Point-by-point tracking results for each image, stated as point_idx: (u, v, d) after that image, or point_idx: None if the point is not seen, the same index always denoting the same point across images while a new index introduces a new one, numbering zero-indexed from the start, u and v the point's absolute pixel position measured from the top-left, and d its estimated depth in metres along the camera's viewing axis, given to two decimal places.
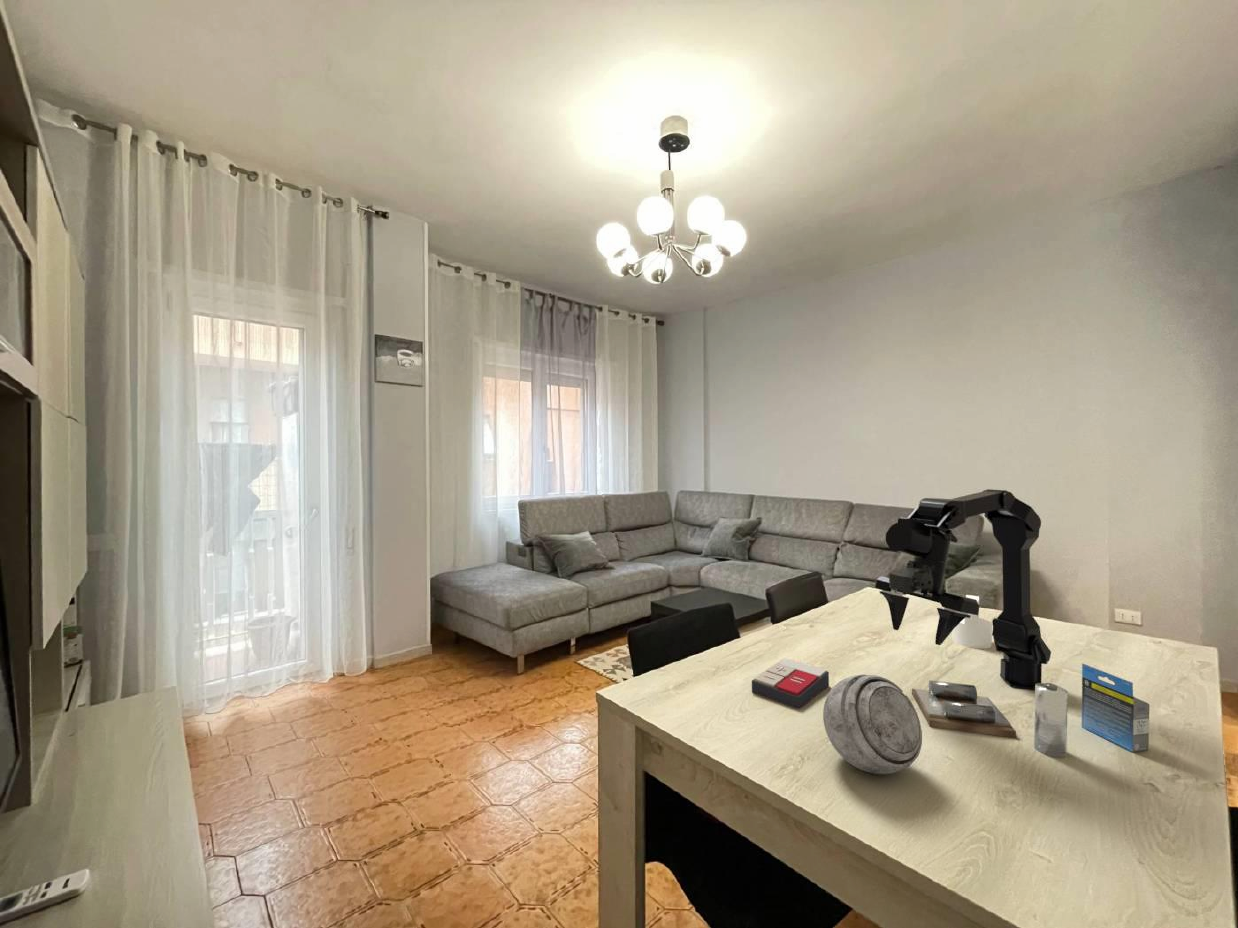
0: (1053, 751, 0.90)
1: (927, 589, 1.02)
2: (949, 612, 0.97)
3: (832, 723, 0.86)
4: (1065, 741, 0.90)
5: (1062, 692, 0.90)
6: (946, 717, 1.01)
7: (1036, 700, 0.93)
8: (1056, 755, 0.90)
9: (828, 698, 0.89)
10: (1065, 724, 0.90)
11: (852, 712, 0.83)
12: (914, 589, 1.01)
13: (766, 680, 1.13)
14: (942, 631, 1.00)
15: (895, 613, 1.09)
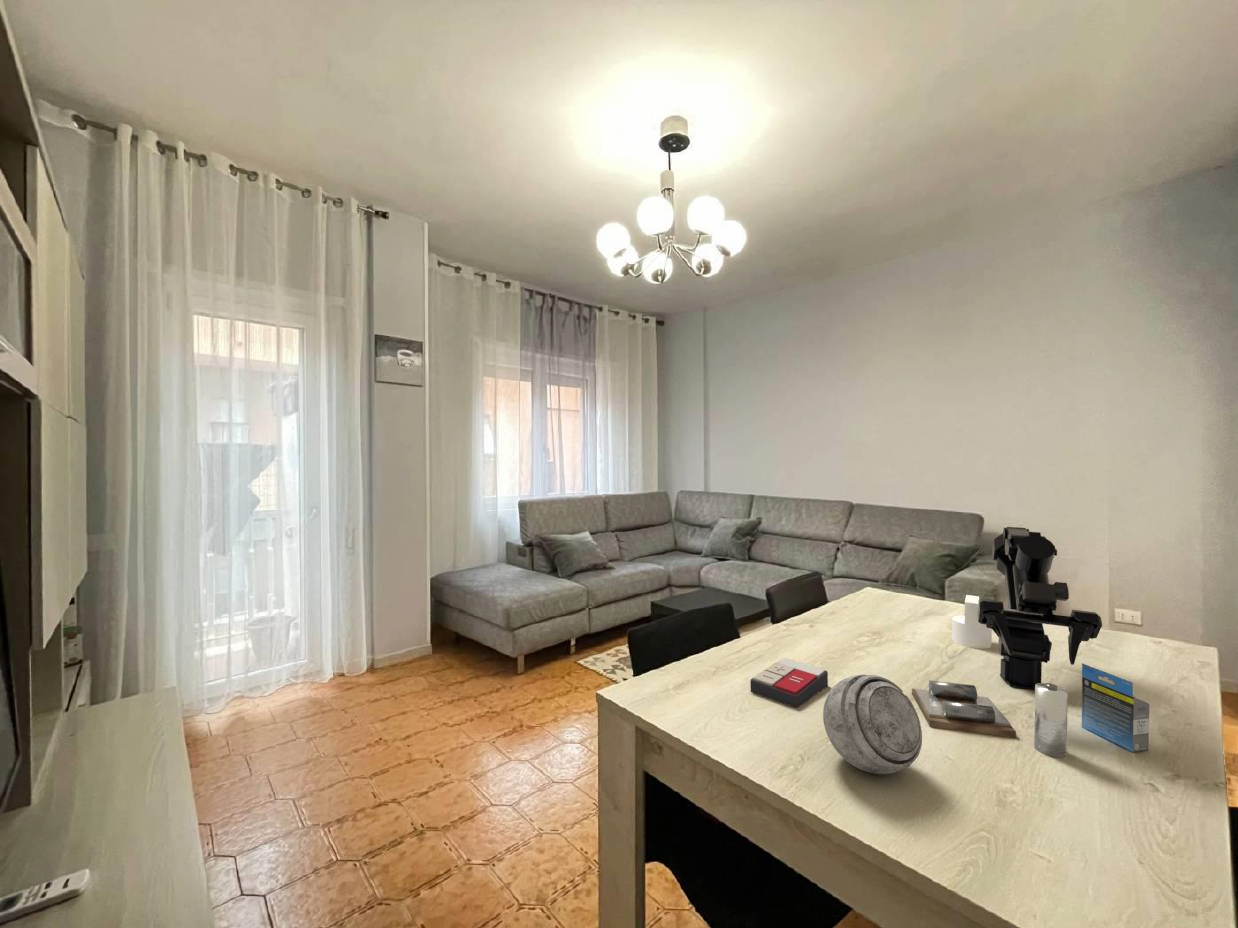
0: (1053, 751, 0.90)
1: (1055, 606, 1.01)
2: (1090, 625, 0.97)
3: (832, 723, 0.86)
4: (1065, 741, 0.90)
5: (1062, 692, 0.90)
6: (946, 717, 1.01)
7: (1036, 700, 0.93)
8: (1056, 755, 0.90)
9: (828, 698, 0.89)
10: (1065, 724, 0.90)
11: (852, 712, 0.83)
12: None
13: (765, 679, 1.14)
14: None
15: (1009, 636, 1.03)
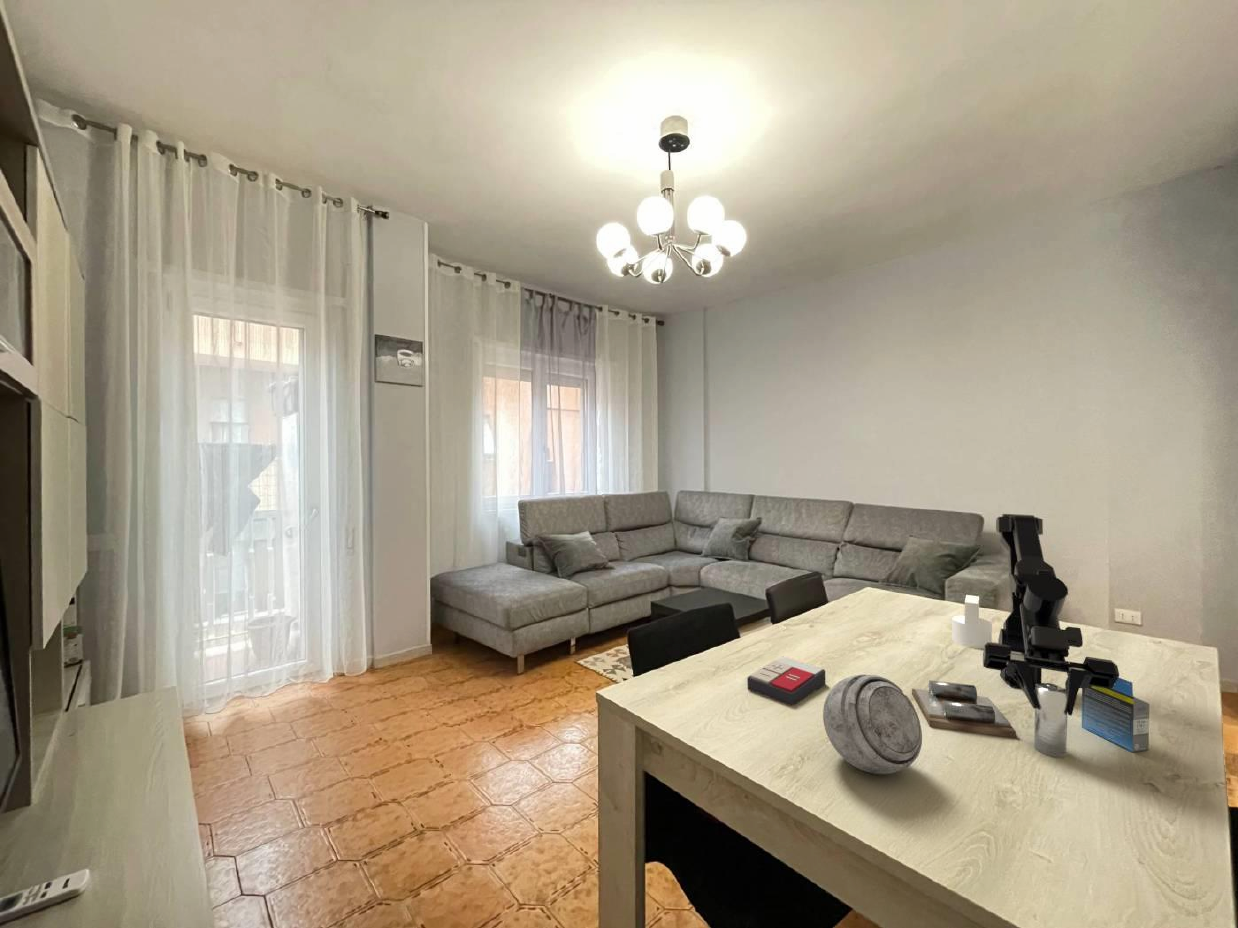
0: (1053, 751, 0.90)
1: (1067, 652, 0.93)
2: (1089, 673, 0.90)
3: (832, 723, 0.86)
4: (1065, 741, 0.90)
5: (1062, 692, 0.90)
6: (946, 717, 1.01)
7: (1036, 700, 0.92)
8: (1056, 755, 0.90)
9: (828, 698, 0.89)
10: (1065, 724, 0.90)
11: (852, 712, 0.83)
12: (1068, 646, 0.91)
13: (761, 677, 1.15)
14: None
15: (1033, 687, 0.93)
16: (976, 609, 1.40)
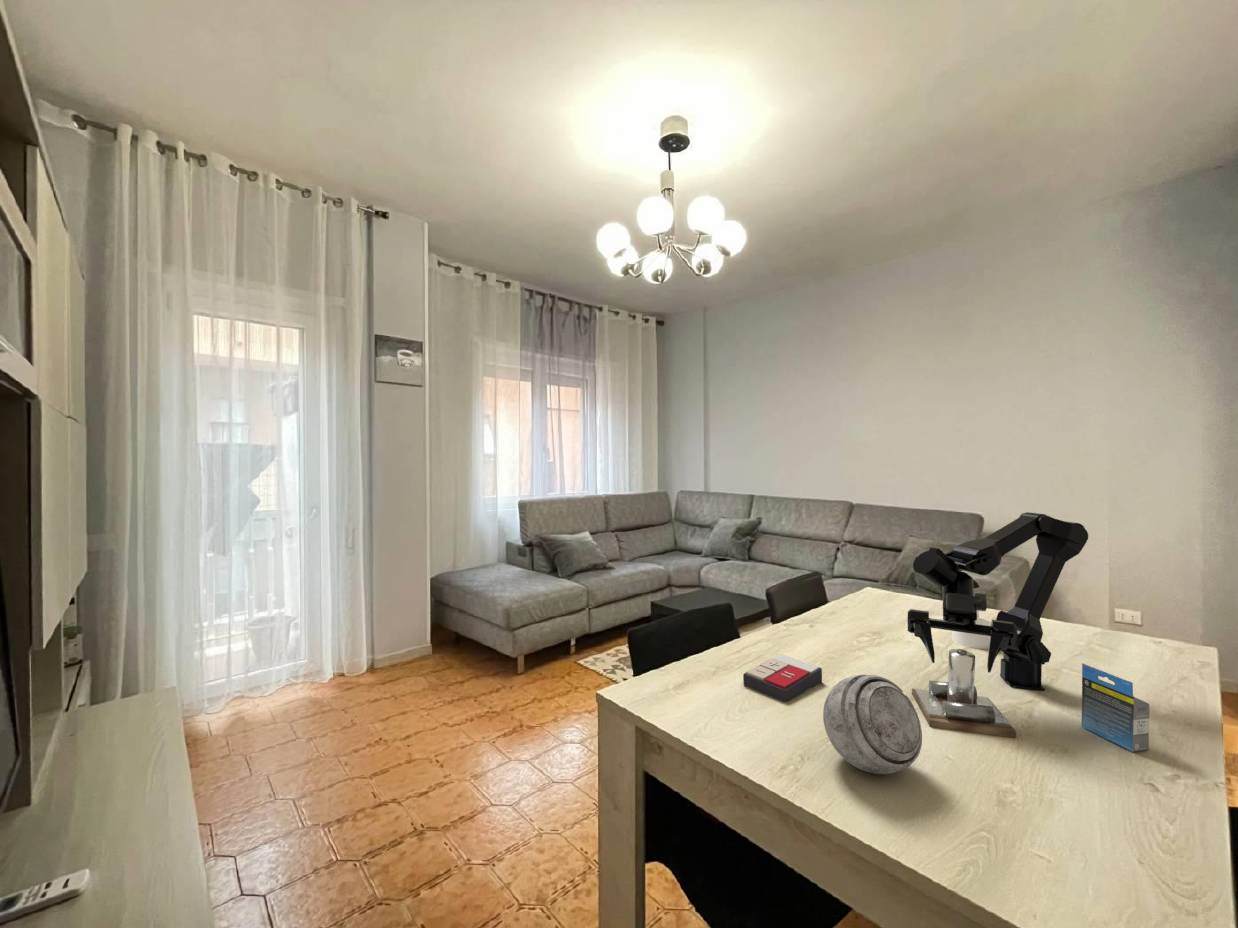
0: None
1: (976, 616, 1.06)
2: (1006, 635, 1.02)
3: (832, 723, 0.86)
4: (971, 699, 1.03)
5: (970, 656, 1.03)
6: (946, 717, 1.01)
7: (949, 664, 1.05)
8: None
9: (828, 698, 0.89)
10: (972, 684, 1.03)
11: (852, 712, 0.83)
12: (975, 610, 1.04)
13: (757, 673, 1.17)
14: (994, 657, 1.02)
15: None
16: None
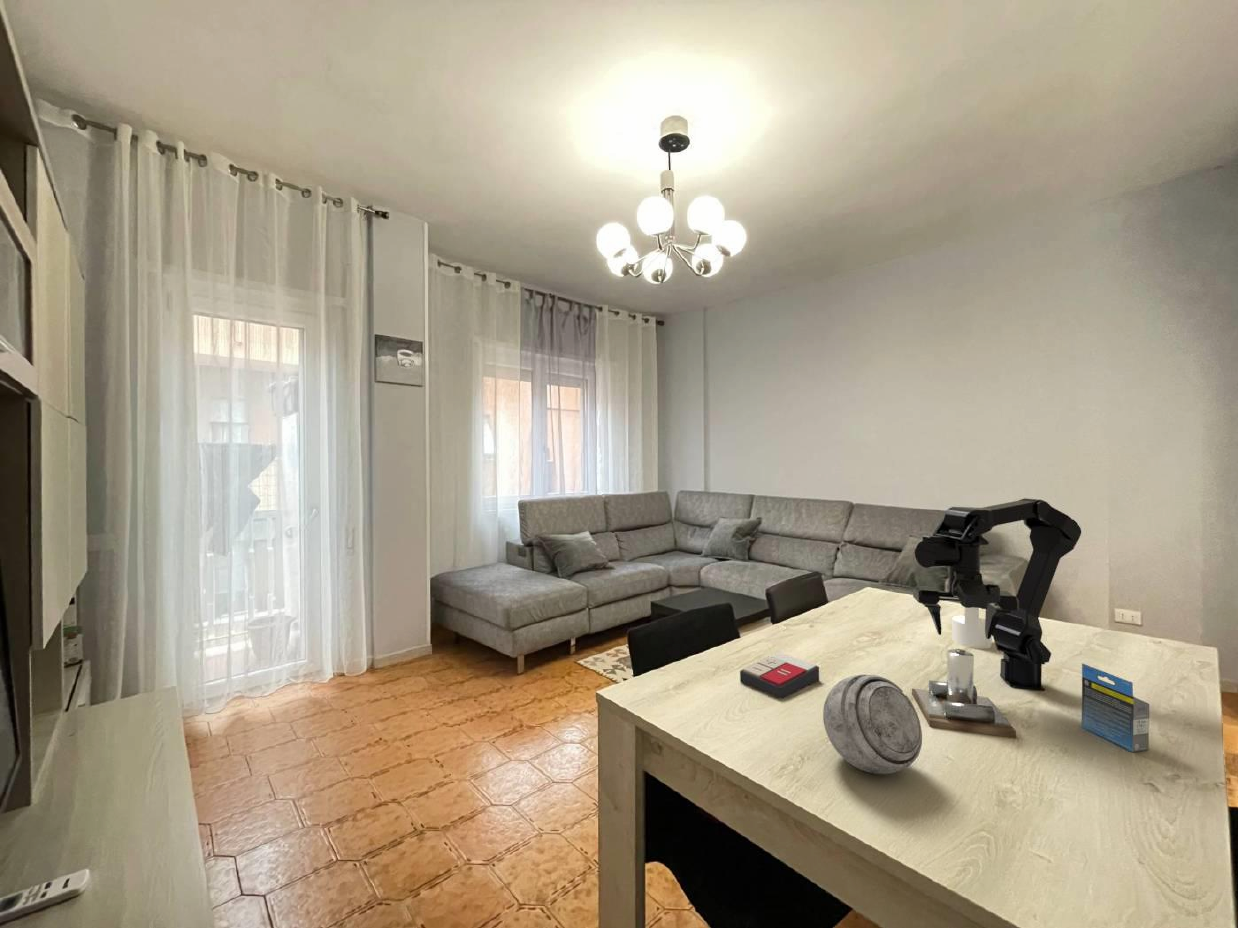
0: None
1: None
2: (1009, 612, 1.10)
3: (832, 723, 0.86)
4: (971, 699, 1.03)
5: (968, 656, 1.03)
6: (946, 717, 1.01)
7: (947, 664, 1.05)
8: None
9: (828, 698, 0.89)
10: (971, 684, 1.03)
11: (852, 712, 0.83)
12: None
13: (753, 671, 1.18)
14: (994, 627, 1.12)
15: None
16: (976, 609, 1.40)
